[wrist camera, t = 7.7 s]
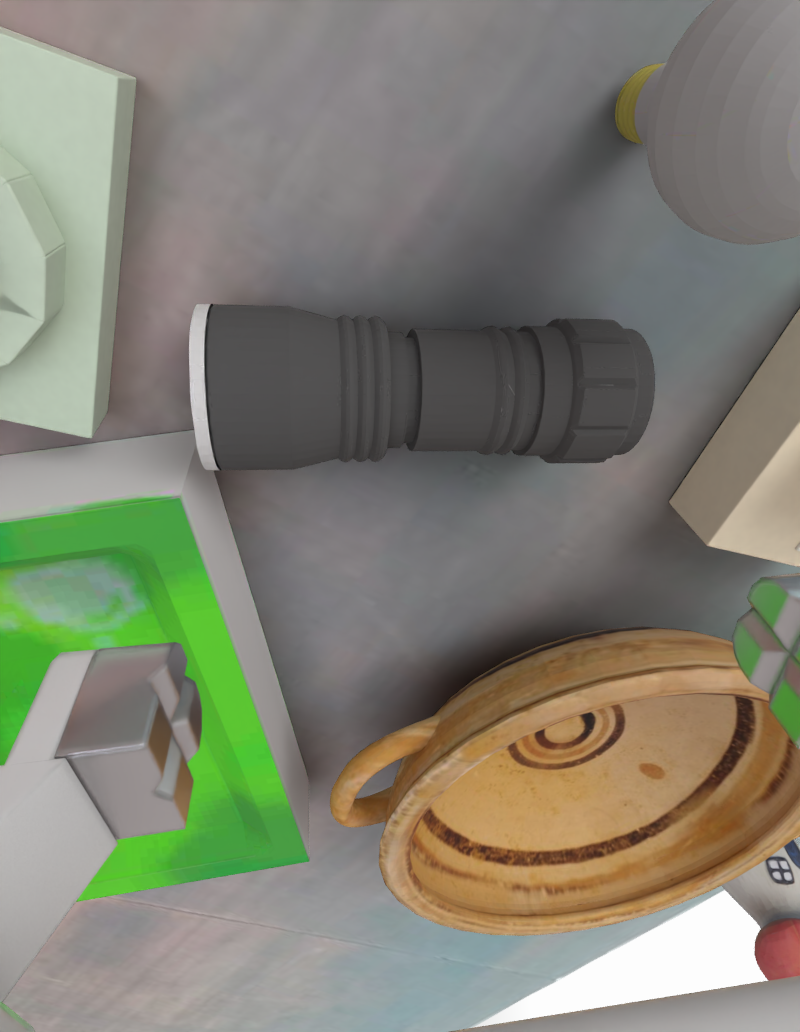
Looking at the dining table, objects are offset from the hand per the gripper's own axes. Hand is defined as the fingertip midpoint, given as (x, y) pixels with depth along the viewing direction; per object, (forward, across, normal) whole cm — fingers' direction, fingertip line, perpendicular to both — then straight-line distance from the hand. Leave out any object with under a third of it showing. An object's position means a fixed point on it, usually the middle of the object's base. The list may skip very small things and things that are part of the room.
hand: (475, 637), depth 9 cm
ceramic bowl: (+17, -10, +25) cm, 32 cm away
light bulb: (+17, -9, -6) cm, 20 cm away
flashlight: (+17, -1, +3) cm, 17 cm away
